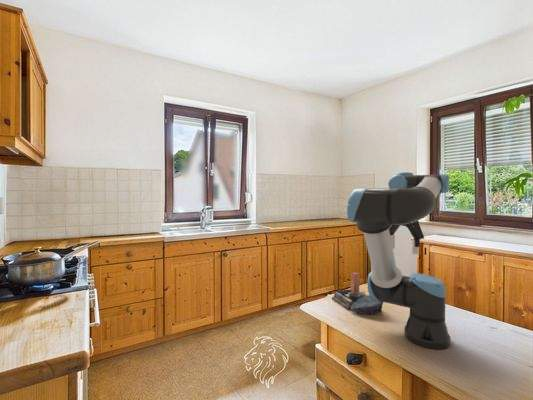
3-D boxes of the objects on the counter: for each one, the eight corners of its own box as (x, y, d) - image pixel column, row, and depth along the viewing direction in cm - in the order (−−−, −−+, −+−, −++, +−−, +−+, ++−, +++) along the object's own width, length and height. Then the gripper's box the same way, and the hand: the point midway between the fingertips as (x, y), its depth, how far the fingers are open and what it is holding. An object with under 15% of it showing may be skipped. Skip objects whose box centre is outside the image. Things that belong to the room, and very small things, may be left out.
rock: (391, 318, 125) (385, 304, 134) (386, 302, 123) (380, 289, 133) (356, 326, 128) (353, 312, 138) (351, 310, 127) (348, 298, 136)
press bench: (376, 306, 137) (376, 297, 137) (347, 310, 132) (347, 301, 132) (358, 296, 151) (358, 288, 151) (331, 299, 146) (332, 291, 146)
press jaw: (365, 301, 140) (365, 273, 140) (349, 303, 137) (349, 274, 137) (360, 298, 144) (360, 271, 144) (344, 300, 141) (344, 272, 141)
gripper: (434, 206, 122) (432, 256, 122) (390, 204, 145) (389, 246, 145) (421, 206, 119) (419, 257, 119) (378, 204, 142) (377, 246, 143)
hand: (403, 251), depth 132 cm, fingers open, 13 cm apart
